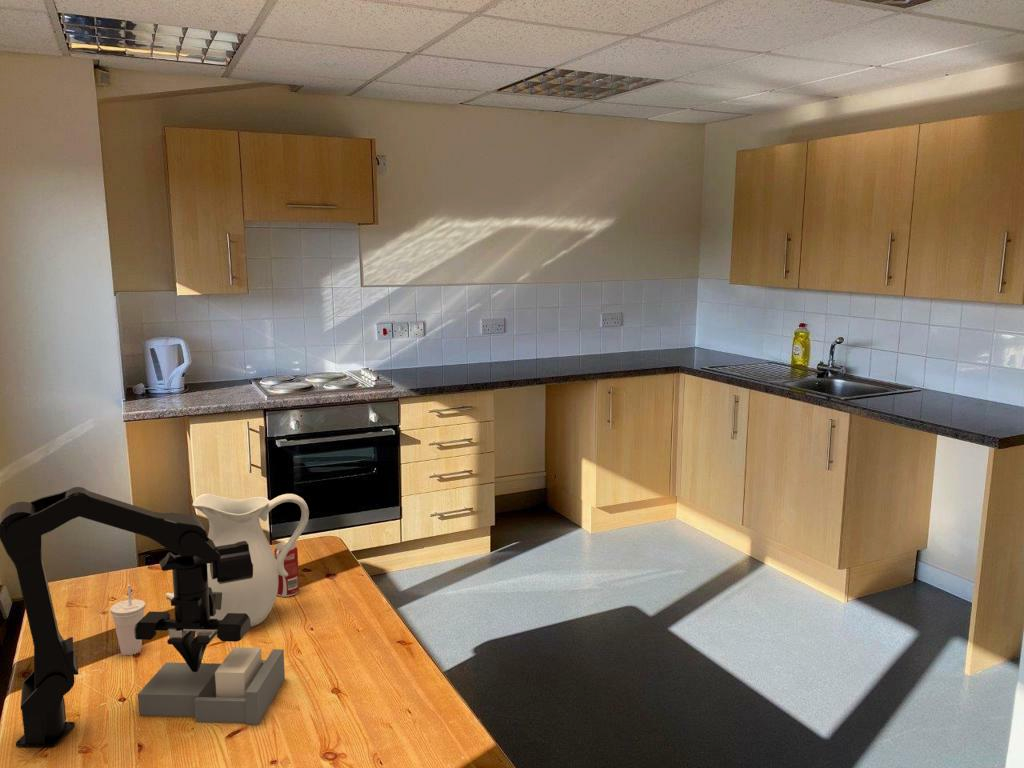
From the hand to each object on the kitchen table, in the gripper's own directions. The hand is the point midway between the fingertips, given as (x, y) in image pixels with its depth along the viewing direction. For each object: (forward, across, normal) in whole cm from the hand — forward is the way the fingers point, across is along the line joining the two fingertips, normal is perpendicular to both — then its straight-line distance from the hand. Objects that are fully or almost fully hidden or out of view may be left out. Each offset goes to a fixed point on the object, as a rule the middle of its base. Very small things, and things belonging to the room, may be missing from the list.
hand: (195, 670), depth 146 cm
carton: (+2, -5, 0) cm, 6 cm away
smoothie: (+6, +20, -17) cm, 27 cm away
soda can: (+6, -2, -46) cm, 46 cm away
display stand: (+6, -3, 0) cm, 6 cm away
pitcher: (+6, 0, -33) cm, 33 cm away
